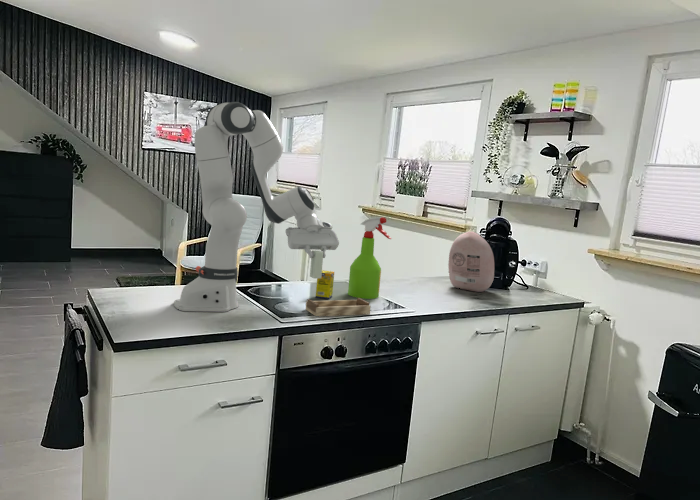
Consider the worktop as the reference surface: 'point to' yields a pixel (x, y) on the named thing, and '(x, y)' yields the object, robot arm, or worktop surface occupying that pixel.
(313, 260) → the pale grey-green block
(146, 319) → the worktop surface
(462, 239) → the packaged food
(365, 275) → the spray bottle
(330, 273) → the supplement box
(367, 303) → the wooden tray
